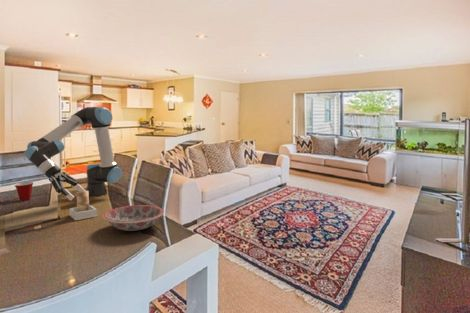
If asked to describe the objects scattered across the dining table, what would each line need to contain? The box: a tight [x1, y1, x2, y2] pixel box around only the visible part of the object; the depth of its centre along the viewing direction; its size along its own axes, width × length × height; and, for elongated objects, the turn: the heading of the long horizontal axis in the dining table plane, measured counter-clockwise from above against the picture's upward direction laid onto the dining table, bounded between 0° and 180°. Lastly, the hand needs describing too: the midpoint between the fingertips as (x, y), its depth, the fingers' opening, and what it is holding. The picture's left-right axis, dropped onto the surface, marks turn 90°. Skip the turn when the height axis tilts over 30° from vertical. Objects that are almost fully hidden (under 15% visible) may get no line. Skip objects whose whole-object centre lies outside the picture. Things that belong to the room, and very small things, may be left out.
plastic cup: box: [13, 181, 34, 202], centre depth 195 cm, size 11×11×12 cm
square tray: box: [69, 204, 98, 221], centre depth 164 cm, size 11×11×4 cm
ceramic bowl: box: [103, 204, 165, 232], centre depth 147 cm, size 29×29×8 cm
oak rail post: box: [76, 190, 90, 212], centre depth 164 cm, size 6×6×13 cm
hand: (78, 195), depth 163 cm, fingers open, 13 cm apart
